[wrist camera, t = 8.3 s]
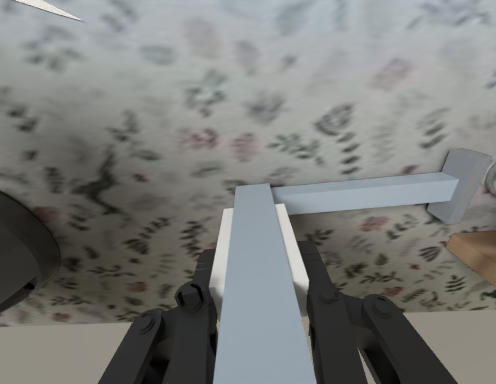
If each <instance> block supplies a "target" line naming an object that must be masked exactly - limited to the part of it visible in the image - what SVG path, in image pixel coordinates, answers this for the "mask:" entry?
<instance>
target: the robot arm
mask: <svg viewBox="0 0 496 384" xmlns="http://www.w3.org/2000/svg"><path fill="white" fill-rule="evenodd" d="M274 205H275V209H276V214H277V218H278V222H279V226H280V230H281V235H282V239H283V243H284V247H285V252H286V256H287V260H288V264H289V268H290V273H291V277H292V281H293V285H294V289H295V294H296V298H297V302H298V306H299V310H300V315H301V317H302V316H307V313H308V317H309V321H310V322H309V323H310V324H309V336H310V339H311V347H312V356H313V364H314V373H315V378H316V382H317V384H368V382H367V379H366V376H365V372H364V369H363V365H362V362H361V359H360V355H359V352H358V349H359V351H360V353H361V355H362V357H363V359H364V361H365V363H366V365H367V367H368V369H369V371H370V372H371V374H372V377H373V378H374V380H375V382H376V384H458V383H457V382H456V381H455V379H454V378H453V377H452V375H451V374H450V373H449V372H448V370H447V369H446V368H445V367H444V365H443V364H442V363H441V362H440V360H439V359H438V358H437V356H436V355H435V354H434V353H433V351H432V350H431V349H430V348H429V346H428V345H427V344H426V342H425V341H424V340H423V339H422V338H421V336H420V335H419V334H418V333H417V331H416V330H415V329H414V327H413V326H412V325H411V323H410V322H409V321H408V320H407V318H406V317H405V316H404V315H403V313H402V312H401V311H400V310H399V308H398V307H397V306H396V305H395V304H394V303H393V302H392V301H391V300H389V299H388V298H386V297H384V296H381V295H378V294H370V295H368V296H366V297H365V299H360V298H356V297H351V296H348V295H345V294H343V293H342V292H340V291H339V290H338V289H337V288H336V287H335V286H334V285H333V284H332V282H331V280H330V277H329V275H328V273H327V270H326V268H325V266H324V264H323V261H322V259H321V257H320V255H319V252H318V250H317V248H316V246H315V245H314V244H313V243H312V242H311V241H298V242H296V239H295V236H294V233H293V230H292V227H291V223H290V220H289V217H288V214H287V211H286V208H285V205H284V204H274ZM232 216H233V208H229V209H224V212H223V217H222V222H221V227H220V232H219V237H218V243H217V248H216V249H205V250H204V251H203V252H202V253H201V255H200V256H199V259H198V263H197V266H196V271H195V273H194V277H193V280H192V281H190V282H188V283H185V284H184V285H182V286H181V287H180V288H179V289H178V290H177V292H176V294H175V299H176V302H177V304H178V307H176V308H174V309H171V310H169V311H166V312H164V313H161V314H160V312H159V311H158V310H154V309H152V310H147V311H145V312H143V313H142V314H140V315H139V316H138V317H137V318H136V319H135V320H134V322H133V323H132V324H131V326H130V328H129V330H128V332H127V334H126V335H125V337H124V339H123V341H122V342H121V344H120V346H119V347H118V349H117V351H116V353H115V354H114V356H113V358H112V360H111V361H110V363H109V365H108V367H107V368H106V370H105V372H104V374H103V375H102V377H101V379H100V381H99V382H98V384H213V380H214V371H215V362H216V354H217V345H218V332H217V327H216V324H217V317H218V320H219V322H220V319H221V311H222V302H223V294H224V285H225V276H226V268H227V259H228V251H229V242H230V233H231V225H232ZM59 264H60V254H59V250H58V247H57V245H56V243H55V241H54V239H53V237H52V236H51V234H50V233H49V232H48V230H47V229H46V228H45V227H44V226H43V224H42V223H41V222H40V221H39V220H38V219H37V218H35V217H34V216H33V215H32V214H31V213H30V212H29V211H27V210H26V209H25V208H23V207H22V206H21V205H19V204H18V203H16V202H15V201H13V200H12V199H10V198H8V197H7V196H5V195H3V194H1V193H0V314H1V313H2V312H4V311H6V310H7V309H9V308H11V307H12V306H14V305H16V304H18V303H19V302H21V301H23V300H24V299H26V298H28V297H29V296H31V295H32V294H34V293H35V292H36V291H38V290H39V289H40V288H41V287H42V286H43V285H44V284H45V283H46V282H47V281H48V280H49V279H50V278H51V277H52V276H53V275H54V274H55V273H56V272H57V270H58V268H59ZM357 347H358V348H357Z"/></svg>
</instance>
